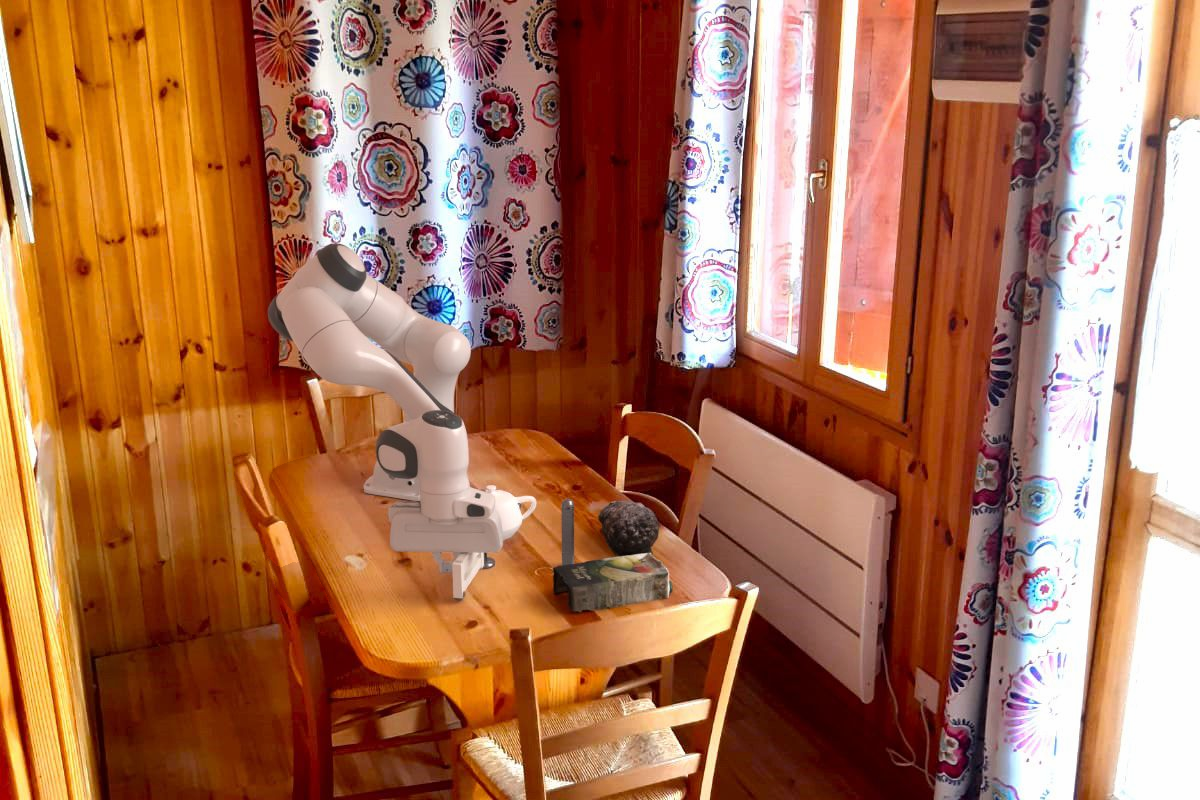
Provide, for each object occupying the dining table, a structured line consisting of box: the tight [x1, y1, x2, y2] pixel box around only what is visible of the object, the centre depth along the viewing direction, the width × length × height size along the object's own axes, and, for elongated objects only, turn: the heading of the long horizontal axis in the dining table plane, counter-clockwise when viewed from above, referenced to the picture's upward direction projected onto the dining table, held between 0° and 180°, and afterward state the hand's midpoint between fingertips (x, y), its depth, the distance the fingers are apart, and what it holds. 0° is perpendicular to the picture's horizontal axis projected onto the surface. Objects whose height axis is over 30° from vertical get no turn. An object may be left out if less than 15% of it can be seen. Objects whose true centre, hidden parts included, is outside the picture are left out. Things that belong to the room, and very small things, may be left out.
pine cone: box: [597, 500, 660, 557], centre depth 216 cm, size 10×18×10 cm, turn 26°
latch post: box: [560, 498, 575, 565], centre depth 207 cm, size 2×2×14 cm
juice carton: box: [552, 553, 674, 614], centre depth 196 cm, size 20×10×6 cm, turn 111°
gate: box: [452, 552, 484, 602], centre depth 199 cm, size 14×2×7 cm, turn 170°
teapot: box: [484, 484, 537, 541], centre depth 222 cm, size 20×12×10 cm, turn 109°
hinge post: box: [479, 488, 496, 570], centre depth 207 cm, size 4×4×15 cm
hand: (448, 572), depth 198 cm, fingers closed
